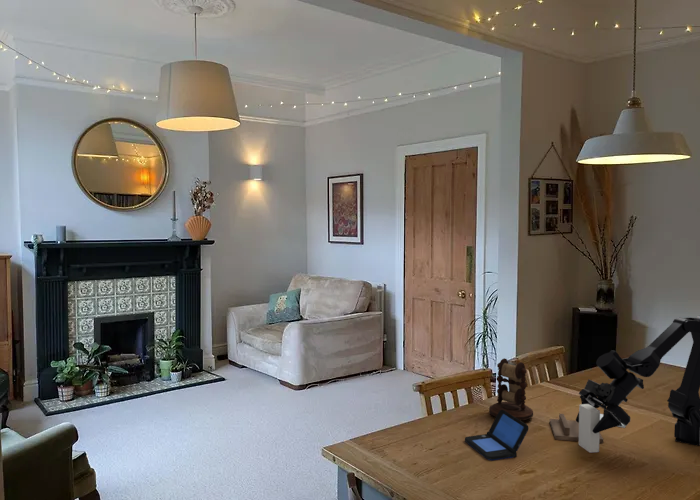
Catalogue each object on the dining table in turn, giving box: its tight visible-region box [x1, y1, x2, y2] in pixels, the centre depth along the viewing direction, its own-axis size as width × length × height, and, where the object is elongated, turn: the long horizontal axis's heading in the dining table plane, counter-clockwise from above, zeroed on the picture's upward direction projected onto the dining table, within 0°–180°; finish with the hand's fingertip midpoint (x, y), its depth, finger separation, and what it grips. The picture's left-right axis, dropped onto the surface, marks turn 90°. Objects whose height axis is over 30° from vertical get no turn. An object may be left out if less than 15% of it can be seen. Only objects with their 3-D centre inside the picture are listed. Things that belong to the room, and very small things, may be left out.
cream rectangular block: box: [578, 403, 601, 454], centre depth 171 cm, size 3×6×12 cm, turn 9°
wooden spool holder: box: [488, 358, 534, 421], centre depth 198 cm, size 15×15×20 cm
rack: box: [549, 413, 604, 444], centre depth 184 cm, size 14×15×4 cm
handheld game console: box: [464, 410, 530, 461], centre depth 172 cm, size 16×13×9 cm
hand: (584, 426), depth 171 cm, fingers open, 9 cm apart
